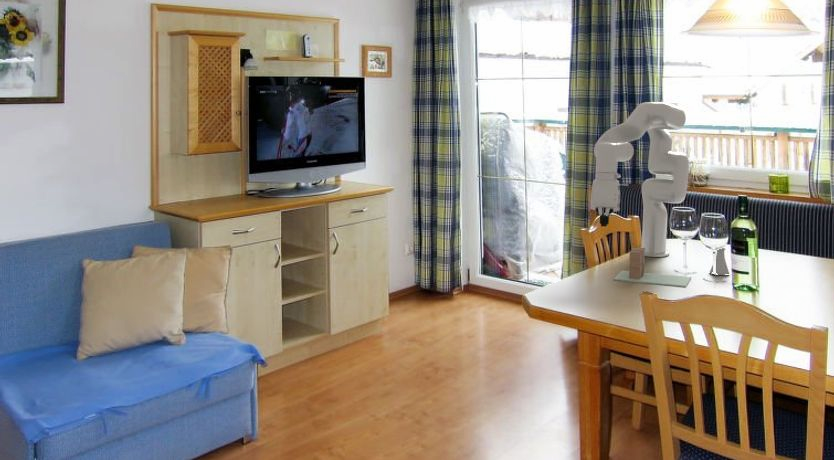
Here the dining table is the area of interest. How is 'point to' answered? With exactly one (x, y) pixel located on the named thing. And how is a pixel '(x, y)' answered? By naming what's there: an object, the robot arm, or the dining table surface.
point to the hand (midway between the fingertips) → (604, 225)
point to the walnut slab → (636, 263)
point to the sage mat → (655, 279)
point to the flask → (720, 263)
